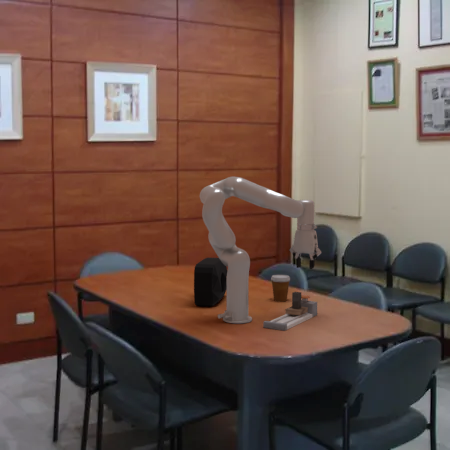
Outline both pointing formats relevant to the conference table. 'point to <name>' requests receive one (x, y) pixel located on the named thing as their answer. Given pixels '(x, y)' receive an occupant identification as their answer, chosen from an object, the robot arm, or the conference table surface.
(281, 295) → the disposable coffee cup
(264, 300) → the conference table surface
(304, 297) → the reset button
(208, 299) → the black hard case
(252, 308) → the conference table surface
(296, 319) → the rail track
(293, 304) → the carriage
